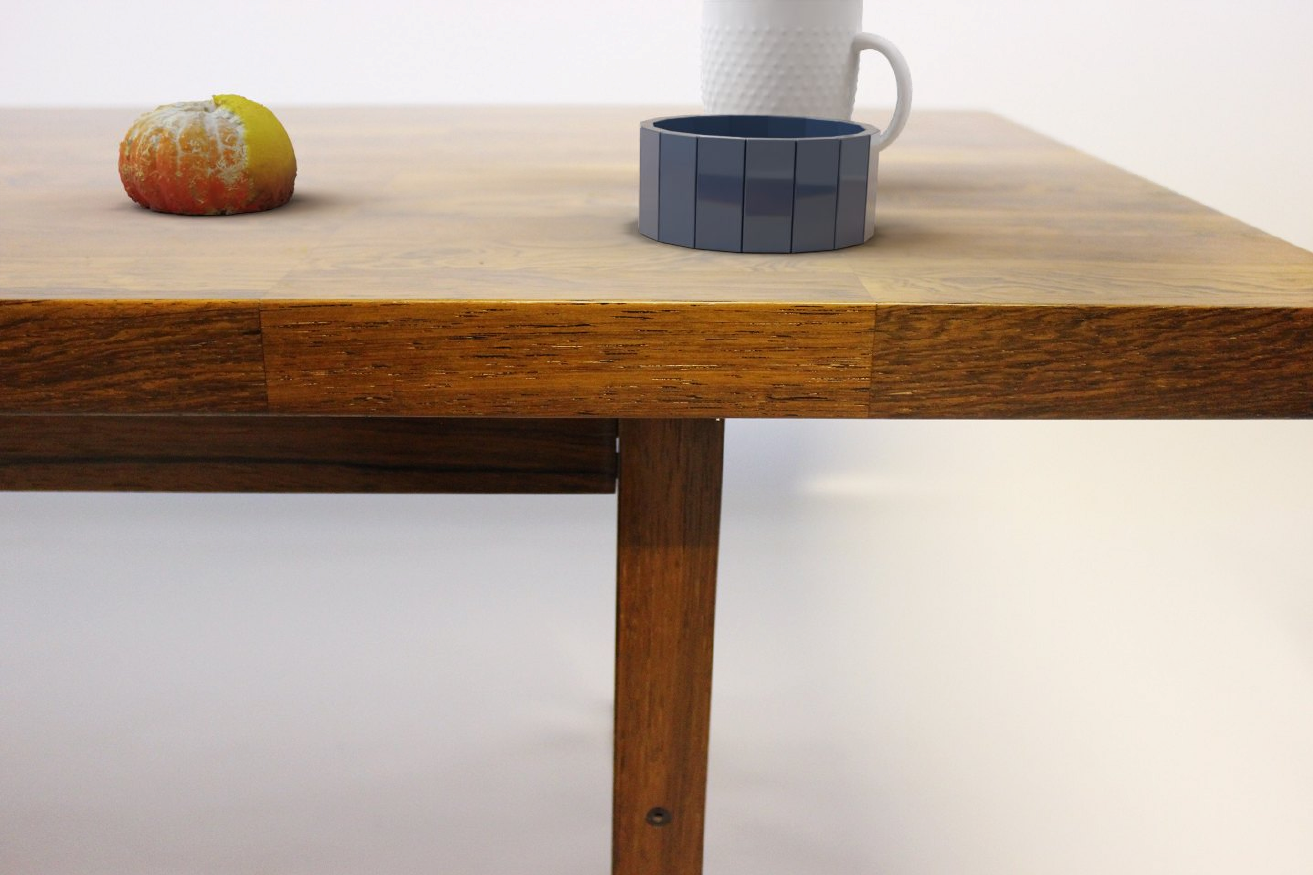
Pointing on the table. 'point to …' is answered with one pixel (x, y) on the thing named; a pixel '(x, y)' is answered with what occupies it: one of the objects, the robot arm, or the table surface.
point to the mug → (792, 59)
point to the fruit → (208, 158)
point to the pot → (757, 182)
